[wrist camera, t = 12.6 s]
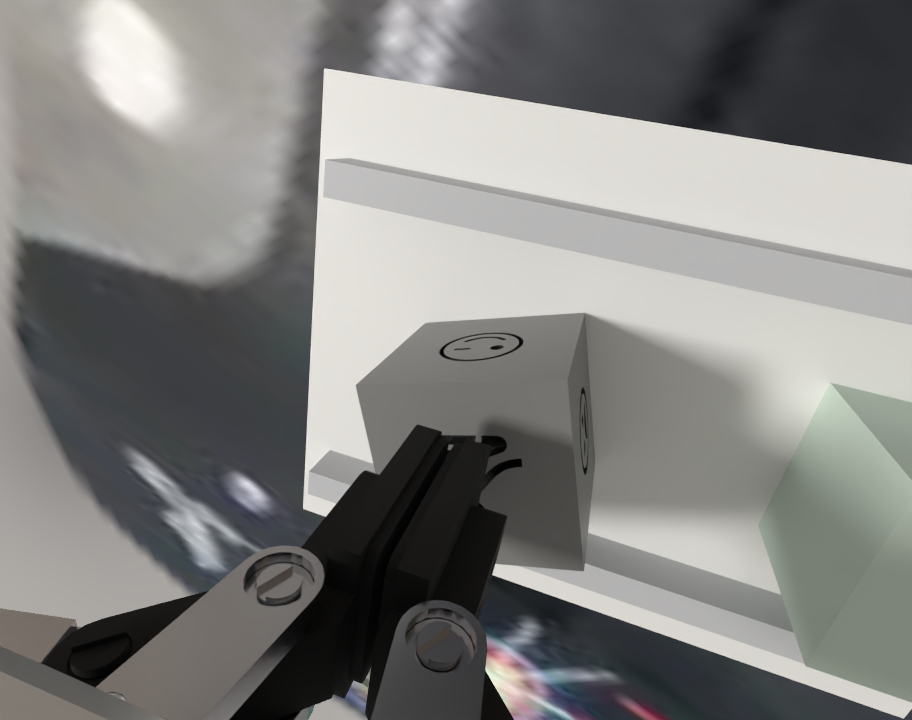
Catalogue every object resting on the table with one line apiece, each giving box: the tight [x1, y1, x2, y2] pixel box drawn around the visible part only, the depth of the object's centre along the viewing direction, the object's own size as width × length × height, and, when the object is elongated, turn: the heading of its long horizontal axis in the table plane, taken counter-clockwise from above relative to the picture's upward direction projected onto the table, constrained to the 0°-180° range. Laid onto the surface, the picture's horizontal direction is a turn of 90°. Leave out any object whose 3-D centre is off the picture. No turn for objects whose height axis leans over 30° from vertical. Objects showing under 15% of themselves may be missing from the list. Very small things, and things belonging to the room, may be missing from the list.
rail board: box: [303, 68, 912, 719], centre depth 15 cm, size 22×16×6 cm
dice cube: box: [356, 313, 595, 571], centre depth 15 cm, size 5×5×5 cm
